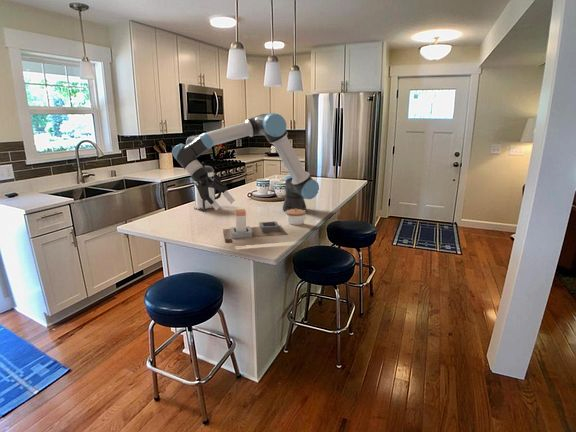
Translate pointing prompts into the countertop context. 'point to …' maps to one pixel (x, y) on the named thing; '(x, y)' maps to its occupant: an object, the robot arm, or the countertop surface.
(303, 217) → the lidded jar
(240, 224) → the plug
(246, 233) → the port
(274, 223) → the frame
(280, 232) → the walnut board
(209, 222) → the countertop surface
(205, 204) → the coffee press
